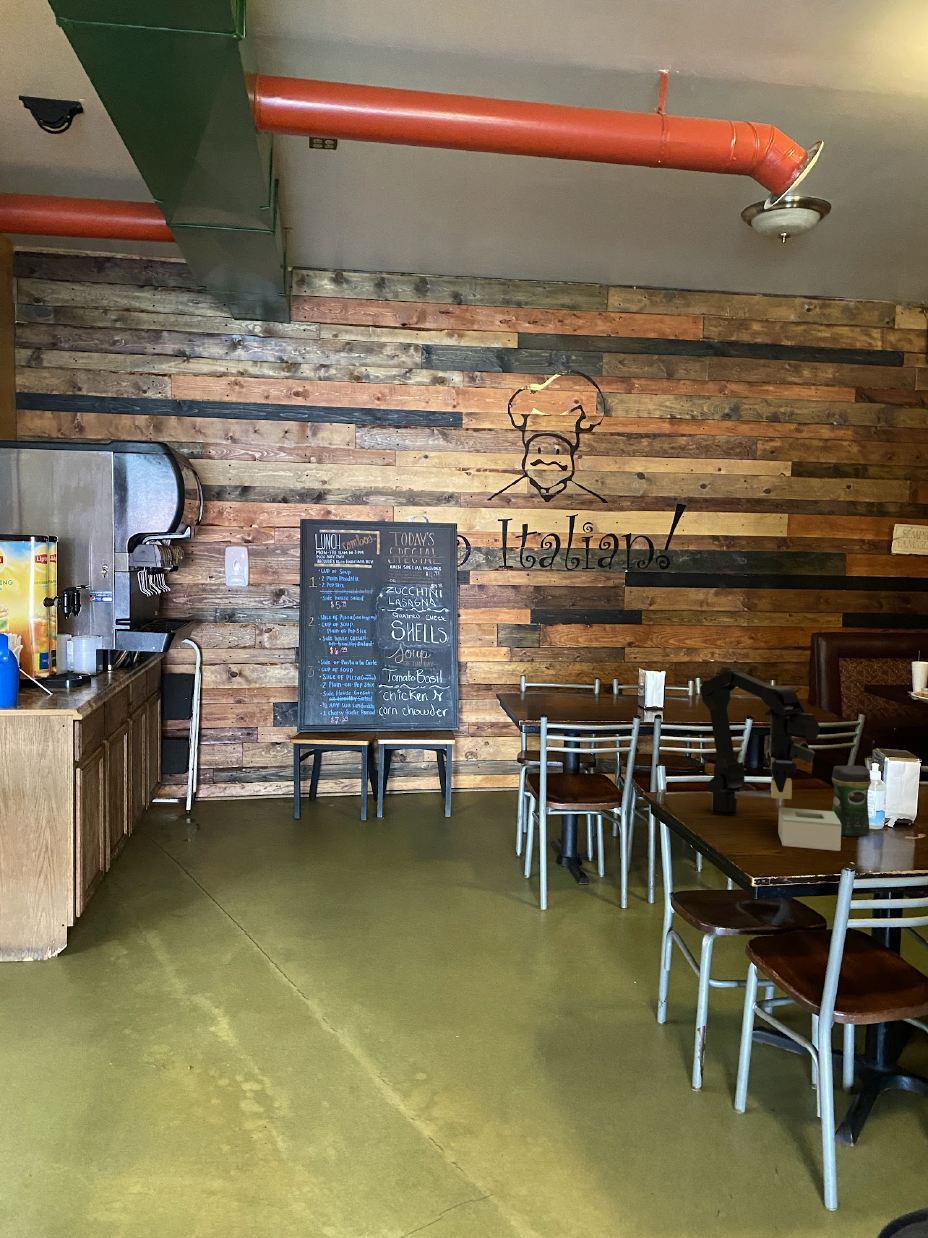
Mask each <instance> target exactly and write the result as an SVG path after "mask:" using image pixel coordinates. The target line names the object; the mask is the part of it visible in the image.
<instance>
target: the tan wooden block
mask: <svg viewBox="0 0 928 1238" xmlns="http://www.w3.org/2000/svg"><path fill="white" fill-rule="evenodd" d="M770 779H771V781H770V782H771V787H770V789H771V791H770V793H771V794H770V796H771V798H772V799H784V800H785V799H787V800H792V797H793V795H792V794H793V791H792V790H793V789H792V788H793V786H792V785H793V781H792V778H789V777H787V779H786V782H785V786H784V790H783V792H778V789H777V786H776V783H775V780H774V778H773V776H772V777H771V778H770Z"/></svg>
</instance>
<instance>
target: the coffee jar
mask: <svg viewBox="0 0 928 1238" xmlns="http://www.w3.org/2000/svg"><path fill="white" fill-rule="evenodd" d="M831 781H832V784H833V791H834V792H833V800H832V801H833V802H832V808H831V811H832V812H835V814H836V816H837V818H838V819H839V821H840V823H841V836H846V837H847V836H853V837H855V836H856V837H857V836H867V835H869V833H870V818H869V817H870V816H869V805H868V804H869V802H868V801H869V799H868V796H869V795H868V793H869V788H870V787H871V786H870V785H871V782H872V779H871V772H870V770H869V768H868V767H865V766H863V765H835V766H833V768H832V775H831Z"/></svg>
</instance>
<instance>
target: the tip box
mask: <svg viewBox="0 0 928 1238" xmlns="http://www.w3.org/2000/svg"><path fill="white" fill-rule="evenodd" d="M777 824H778V828H777V832H778V836H779V838H780V841H781V845H782V847H791V848H792V847H793V848H794V847H795V848H802V849H805V848H806V849H816V850H824V851H825V850H827V851H835V852H836V851H837V852H838V851H839V852H840V851H841V844H842V843H841V842H842V835H841V823H840V821H839V819H838V818H837V816H836V814H835V812H832V810H830V811H829V810H819V809H818V810H817V809H805V808H791V807H782V806H781V807H780V806H779V807H778V823H777Z"/></svg>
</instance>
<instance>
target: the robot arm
mask: <svg viewBox="0 0 928 1238" xmlns="http://www.w3.org/2000/svg"><path fill="white" fill-rule="evenodd" d="M699 687H700V688H699V691H700V695H701V699H702V702H703V704H704V705H705V706H706V708H707V709H708V710H709V715H710V721H711V726H712V727H711V728H712V734H713V740H714V747H715V754H716V761H715V764H714V766H713V777H712V778H711V779H710V780H709V781H708V782H707V783H706V784H705V785H706V790H707V792H709V793H712V795H711V796H712V797H711V798H712V799H711V808H710V809H711V814H712V815H713V814H714V815H724V816H736V813H737V807H738V806H737V803H738V797H737V796H736V793H737V792H738V793H739V792H741V789H742V786H743V784H744V783H745V779H746V778H745V777H747V776H746V772H745V767H744V766H745V765H744V763H743V762H739V760H737V759H738V758H736V756H735V752H734V745H733V739H732V732H731V726H730V719H729V713H728V706H729V703H730V701H731V692H733V691H734V690H736V688H738V689H740V690H741V691H742V690H743V691H745V692H746V693H749V694H751V695H753V696H756V697H757V698H759V699H761V701H762V703H763V704H764V705H765V706H767V707H768V708H769V709H768V710H767V711H765V713H764V716H765V717H770V735H769V748H767V750H766V752H765V757H766V760H768V761H767V764H768V766H769V770H770V772H771V776H772V777H773V778H774V780H775V783H776V786H777V789H778V792H783V790H784V786H785V782H786V779H787V778H788V775H790V774H791V773H797V769H798V768H797V766H798V765H797V763H796V762H795V758H796V759H799V760H802V761H804V762H805V763H807V764H808V765H809V764H810V765H811V763H812V762H813V759H814V756H815V754H816V752H815V751H814V750H813V749H812V748H810V747H809V744H808V743H806V742H804V741H801V742H800V743H796V742H795V740H794V739H793V737H794V738H796V739H797V738H798V739H803V740H808V741H814V740H816V739H817V738H818V736H819V734H820V731H821V728H820V727H821V726H820V724H819V722H818V720H817V719H816V718H815V714H813V713H806V710H805V709H804V707H803V705H802V703H801V701H800V700H799V698H798V695H797V692H796V691H795V690H794V689H793V688H790V687H785V686H782V685H772V684H769V683H767V682H765V681H763V680H760V679H758V678H756V677H753V676H751V675H749V674H746V673H745V672H743V671H741V670H739V669H730V670H729V669H728V670H726V671H724V672H723V673H721V674H720V675H717V676H714V677H713V678H711V679H706V680H703V682H702V684H701V685H700V686H699Z"/></svg>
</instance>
